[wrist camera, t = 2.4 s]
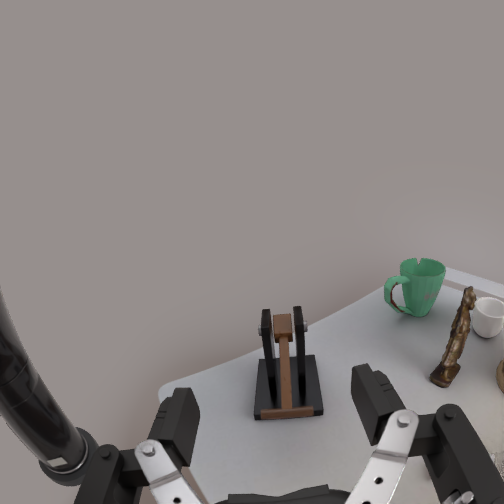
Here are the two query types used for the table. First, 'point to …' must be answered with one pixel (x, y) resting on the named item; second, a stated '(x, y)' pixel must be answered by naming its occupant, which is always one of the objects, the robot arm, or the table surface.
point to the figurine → (455, 342)
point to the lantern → (500, 375)
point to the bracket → (301, 371)
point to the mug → (416, 286)
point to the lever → (285, 373)
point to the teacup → (488, 317)
